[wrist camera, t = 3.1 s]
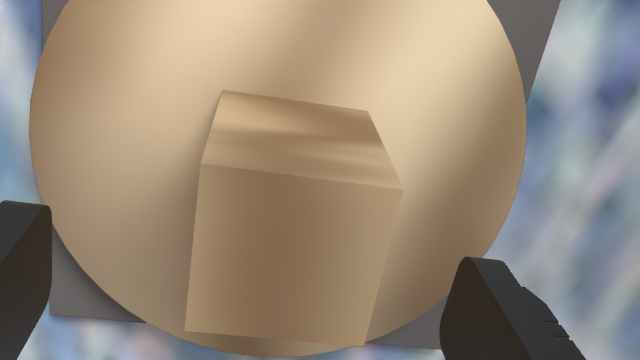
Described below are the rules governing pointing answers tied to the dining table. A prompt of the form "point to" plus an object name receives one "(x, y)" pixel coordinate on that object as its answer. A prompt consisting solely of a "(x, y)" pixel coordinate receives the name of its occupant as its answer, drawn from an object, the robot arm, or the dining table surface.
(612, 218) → the dining table surface
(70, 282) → the rubber mat
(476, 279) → the robot arm
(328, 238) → the oak lid
